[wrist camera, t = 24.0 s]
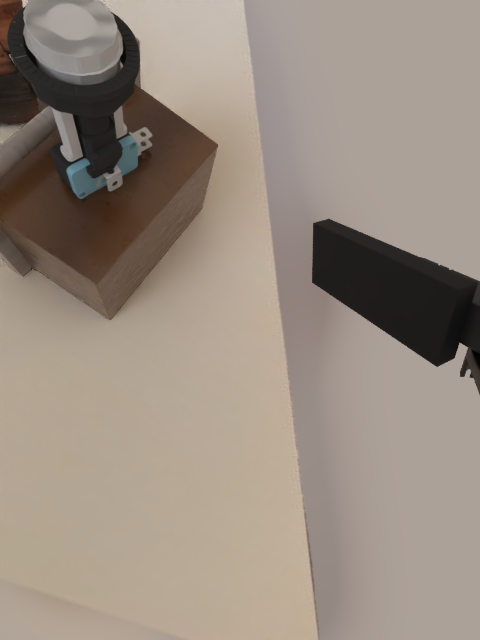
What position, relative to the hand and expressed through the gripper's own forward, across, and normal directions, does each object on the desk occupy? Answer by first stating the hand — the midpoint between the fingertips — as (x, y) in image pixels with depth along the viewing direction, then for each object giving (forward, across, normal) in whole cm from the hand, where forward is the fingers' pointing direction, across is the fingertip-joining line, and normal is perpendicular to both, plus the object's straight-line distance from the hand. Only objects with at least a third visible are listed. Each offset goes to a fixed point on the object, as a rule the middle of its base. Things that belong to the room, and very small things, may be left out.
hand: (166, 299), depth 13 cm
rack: (+22, +1, -4) cm, 23 cm away
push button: (+16, +1, +2) cm, 16 cm away
